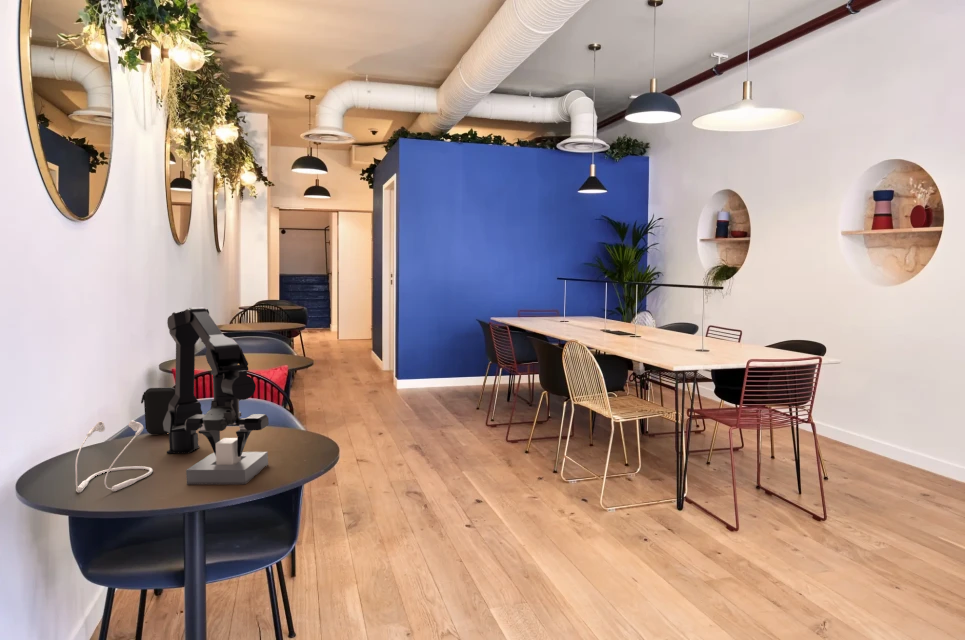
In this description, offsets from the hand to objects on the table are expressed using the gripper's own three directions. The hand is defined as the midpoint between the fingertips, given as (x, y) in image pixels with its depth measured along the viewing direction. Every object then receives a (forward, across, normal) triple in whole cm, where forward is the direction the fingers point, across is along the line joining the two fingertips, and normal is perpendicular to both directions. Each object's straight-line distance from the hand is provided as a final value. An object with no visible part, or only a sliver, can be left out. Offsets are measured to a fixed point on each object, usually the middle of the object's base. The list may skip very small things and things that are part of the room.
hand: (228, 456), depth 157 cm
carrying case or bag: (+5, -38, +39) cm, 55 cm away
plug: (+4, 0, 0) cm, 4 cm away
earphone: (+5, -26, -5) cm, 27 cm away
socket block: (+4, 0, 0) cm, 4 cm away
